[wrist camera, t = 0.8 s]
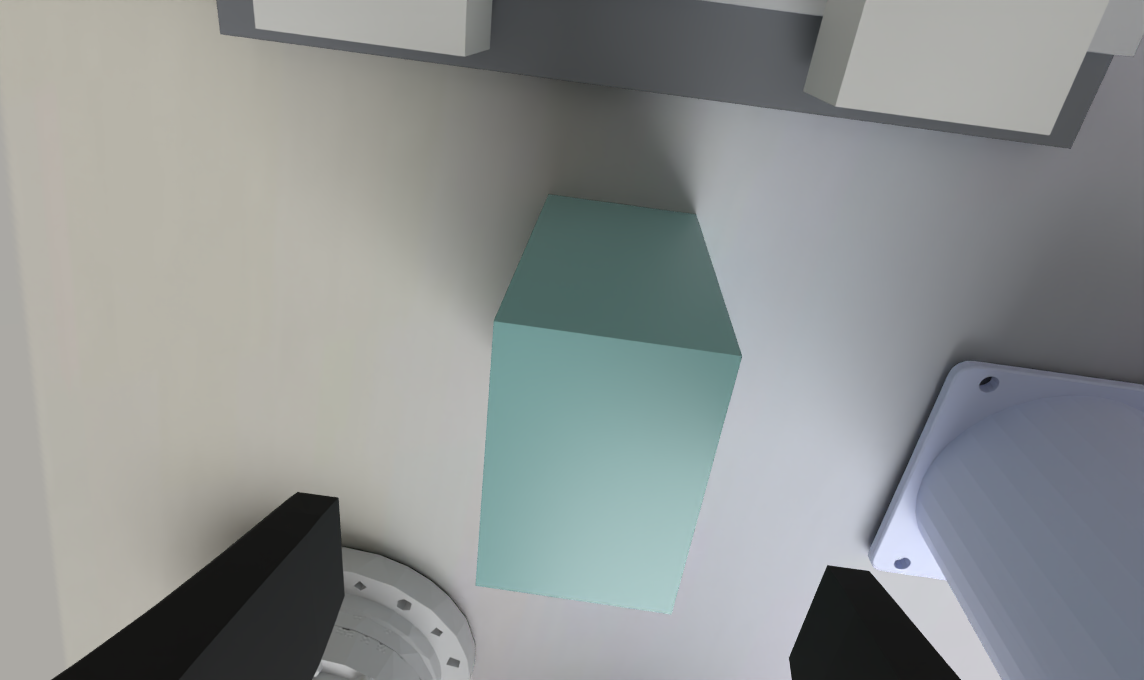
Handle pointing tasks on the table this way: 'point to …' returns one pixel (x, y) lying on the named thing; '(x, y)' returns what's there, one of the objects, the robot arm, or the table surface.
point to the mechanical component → (395, 626)
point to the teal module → (603, 406)
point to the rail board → (759, 51)
